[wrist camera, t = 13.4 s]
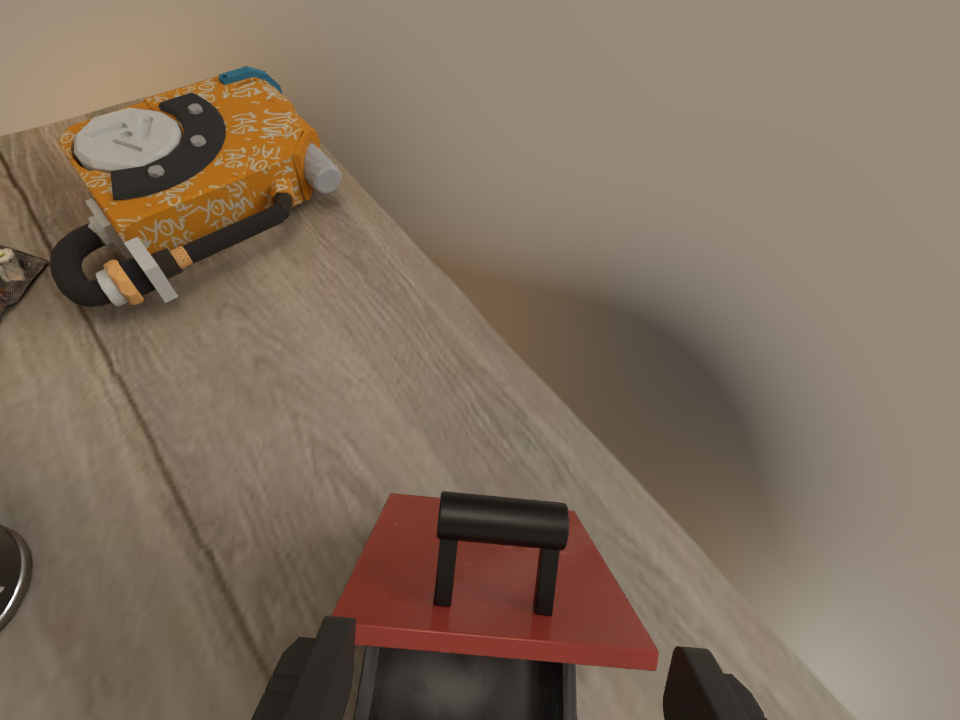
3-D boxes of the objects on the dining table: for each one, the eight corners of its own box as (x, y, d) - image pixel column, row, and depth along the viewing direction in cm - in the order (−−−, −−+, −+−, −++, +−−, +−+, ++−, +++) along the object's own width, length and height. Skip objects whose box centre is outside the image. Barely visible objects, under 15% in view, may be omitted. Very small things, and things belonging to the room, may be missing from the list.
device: (374, 150, 51) (48, 291, 39) (381, 214, 58) (105, 350, 46) (261, 48, 59) (-40, 138, 47) (278, 115, 66) (20, 208, 54)
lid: (657, 672, 19) (674, 532, 18) (325, 643, 18) (338, 500, 18) (573, 522, 33) (582, 443, 33) (388, 504, 33) (396, 425, 33)
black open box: (549, 771, 33) (578, 793, 26) (361, 756, 32) (343, 775, 26) (549, 545, 40) (572, 518, 34) (396, 530, 40) (389, 500, 33)
